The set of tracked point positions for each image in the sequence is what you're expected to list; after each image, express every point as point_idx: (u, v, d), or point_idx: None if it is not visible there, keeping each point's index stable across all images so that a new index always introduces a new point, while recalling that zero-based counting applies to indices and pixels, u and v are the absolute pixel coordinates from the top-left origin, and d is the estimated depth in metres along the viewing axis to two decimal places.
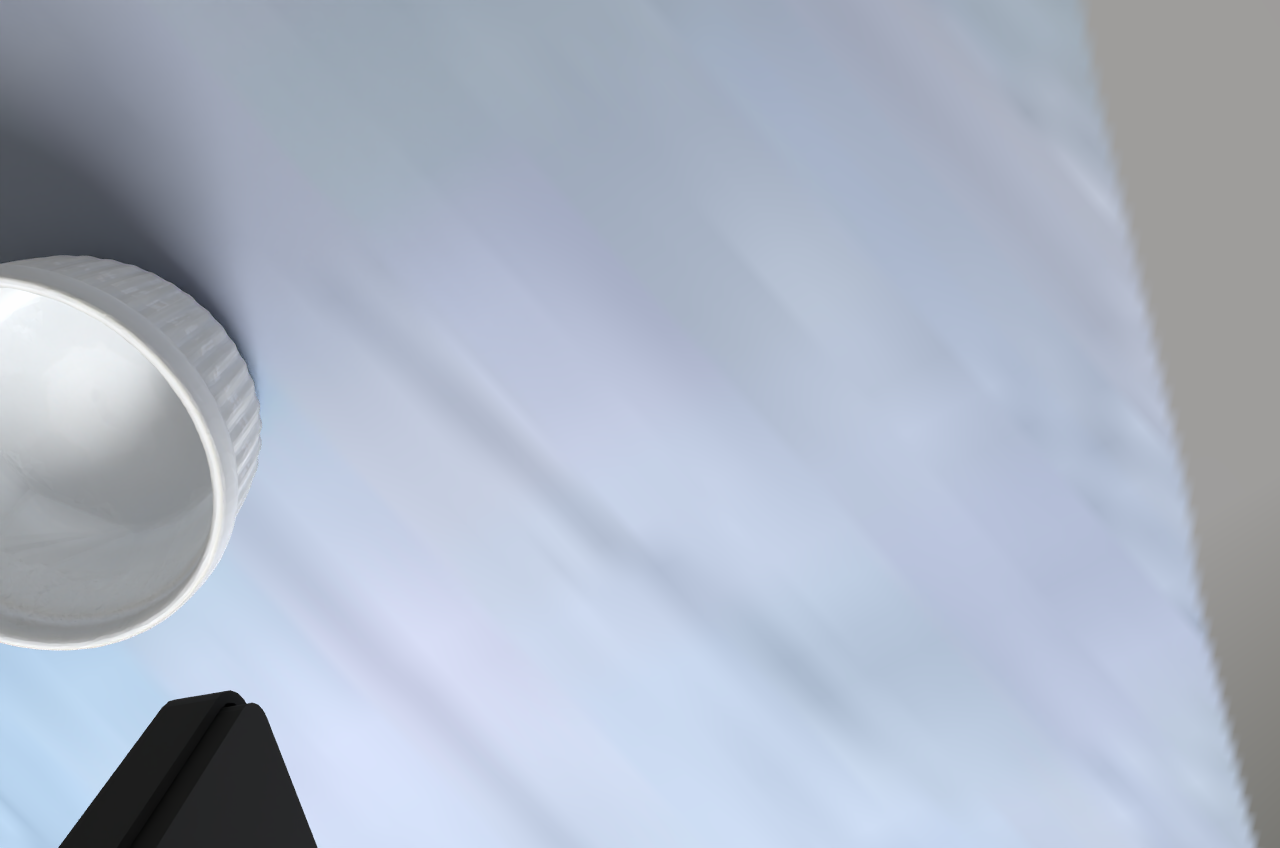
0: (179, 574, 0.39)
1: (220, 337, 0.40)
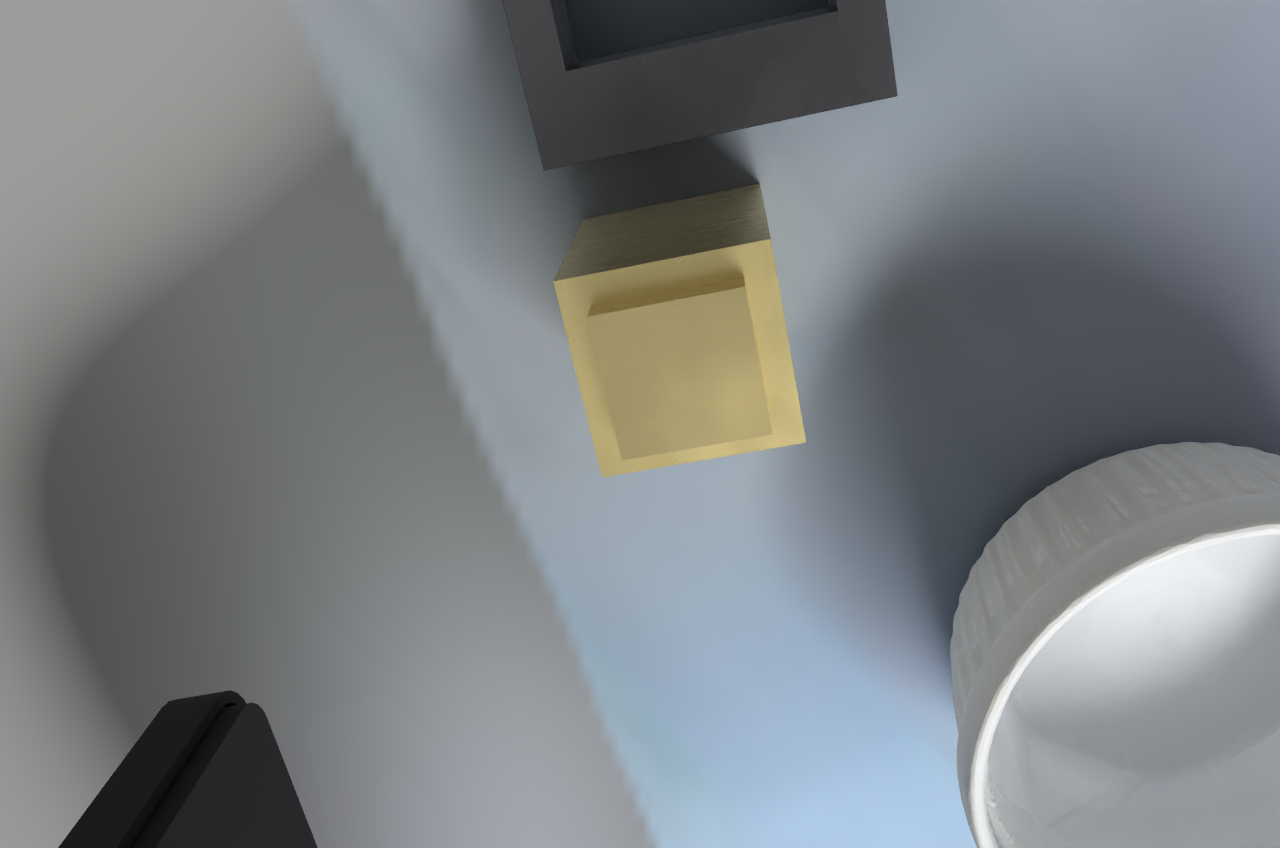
0: None
1: None
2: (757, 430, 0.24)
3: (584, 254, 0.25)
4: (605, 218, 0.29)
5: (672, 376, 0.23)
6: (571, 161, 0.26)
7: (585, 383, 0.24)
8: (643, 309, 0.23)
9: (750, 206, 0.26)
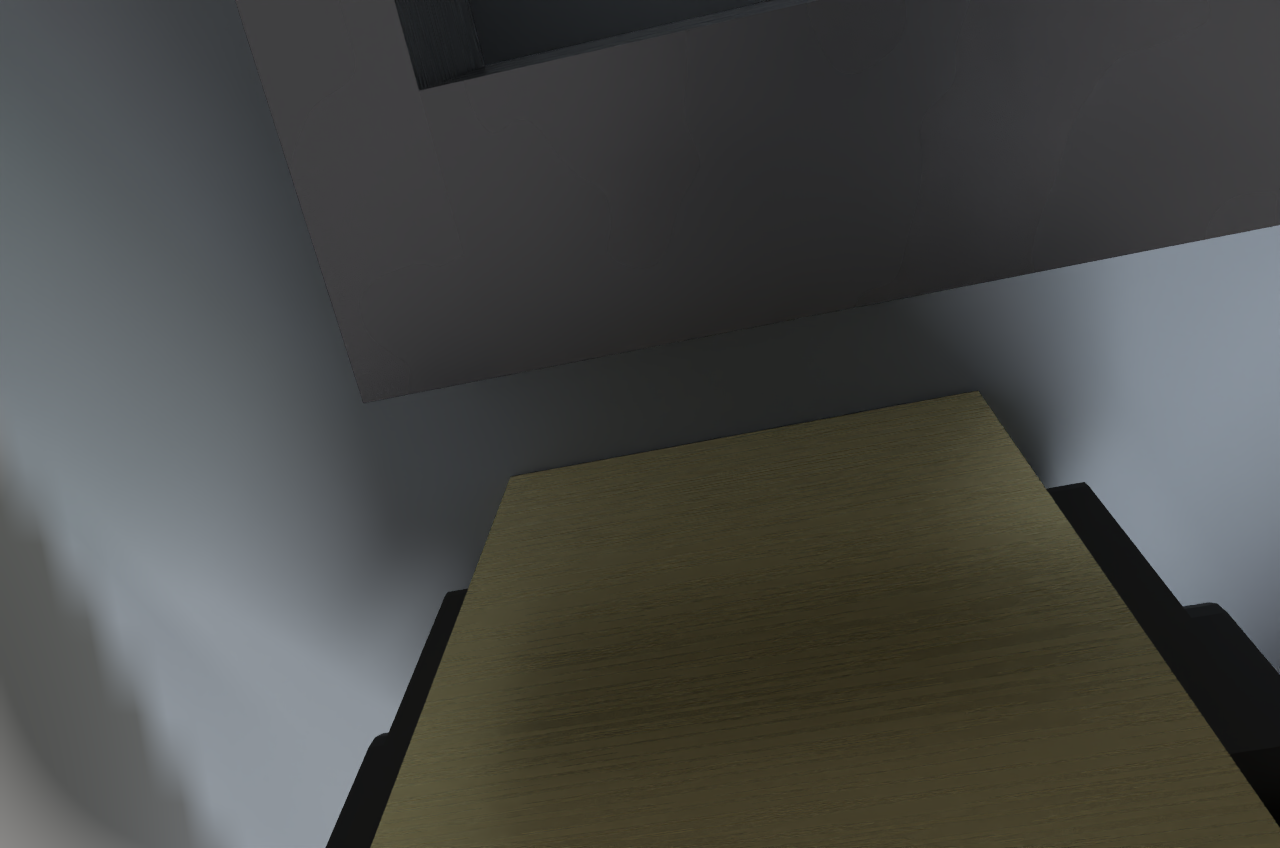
0: None
1: None
2: None
3: (482, 720, 0.07)
4: (565, 486, 0.11)
5: None
6: (450, 375, 0.08)
7: None
8: None
9: (1012, 511, 0.08)
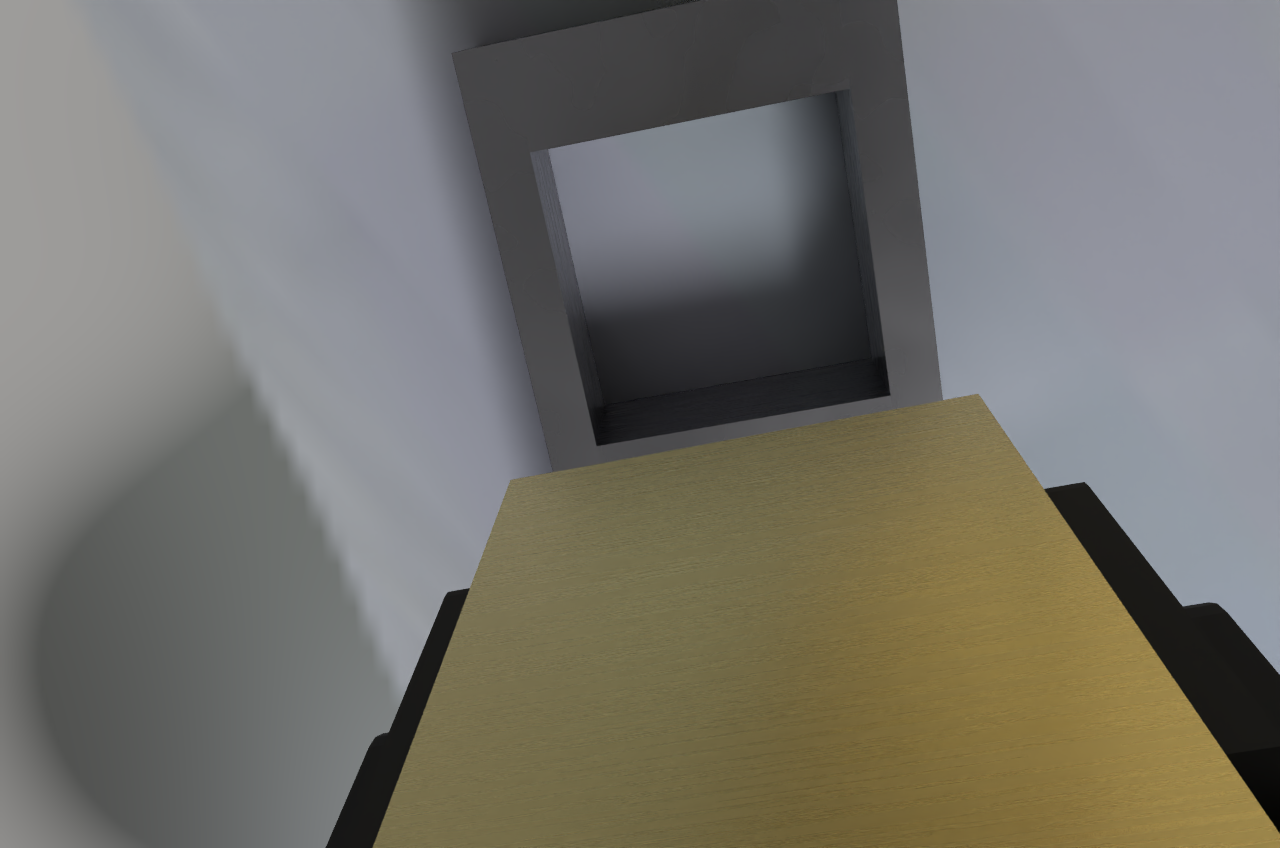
0: None
1: None
2: None
3: (481, 725, 0.07)
4: (565, 489, 0.11)
5: None
6: None
7: None
8: None
9: (1013, 515, 0.08)
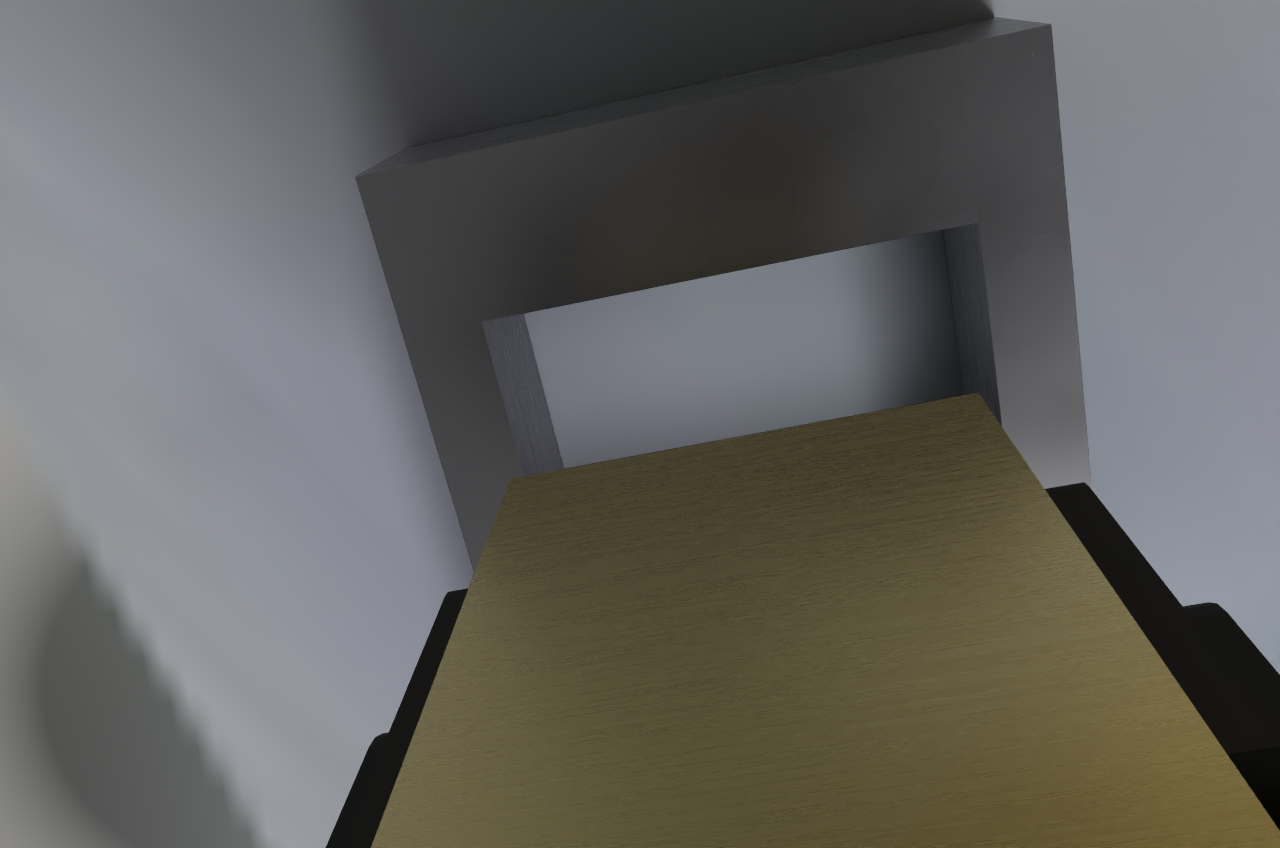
0: None
1: None
2: None
3: (481, 724, 0.07)
4: (564, 488, 0.11)
5: None
6: None
7: None
8: None
9: (1013, 513, 0.08)
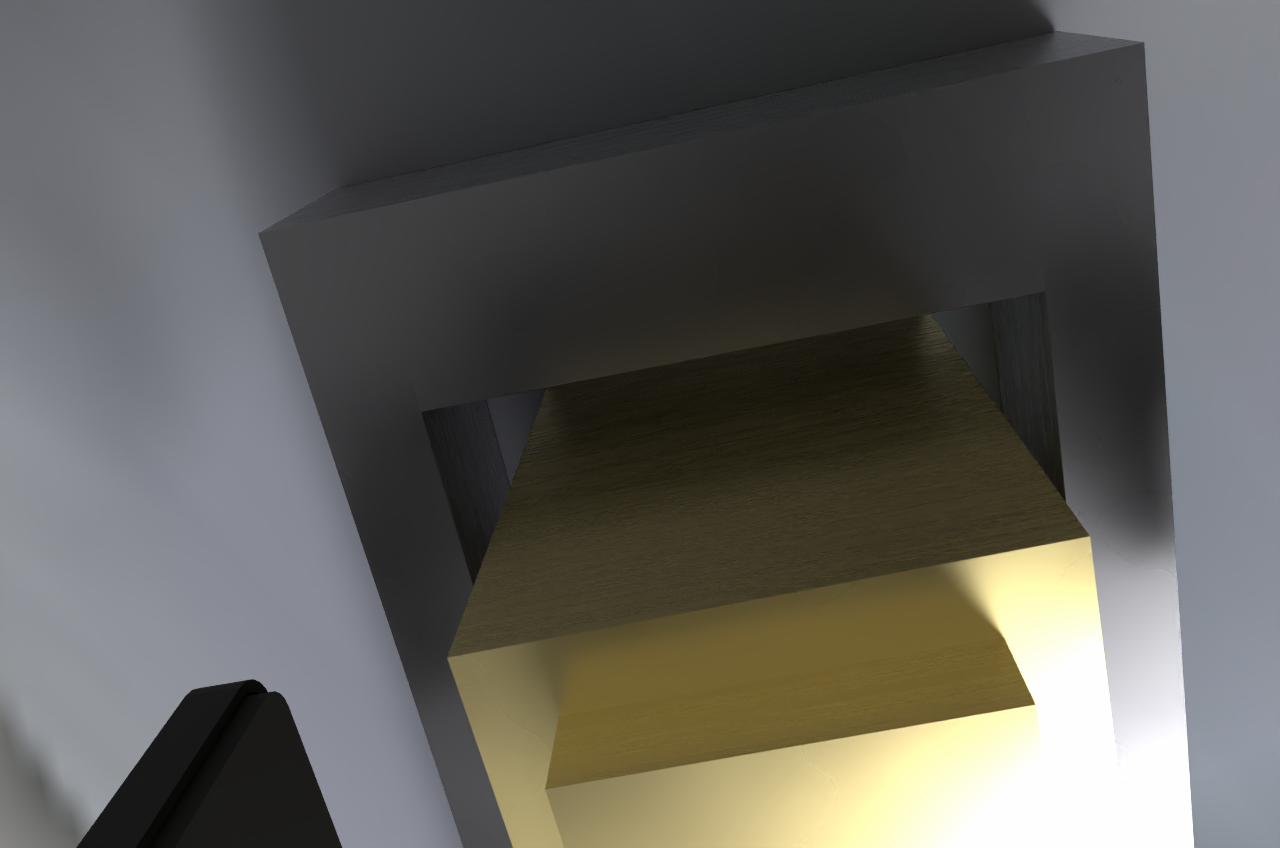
0: None
1: None
2: None
3: (541, 527, 0.10)
4: (592, 387, 0.13)
5: None
6: None
7: None
8: (715, 767, 0.07)
9: (938, 377, 0.11)
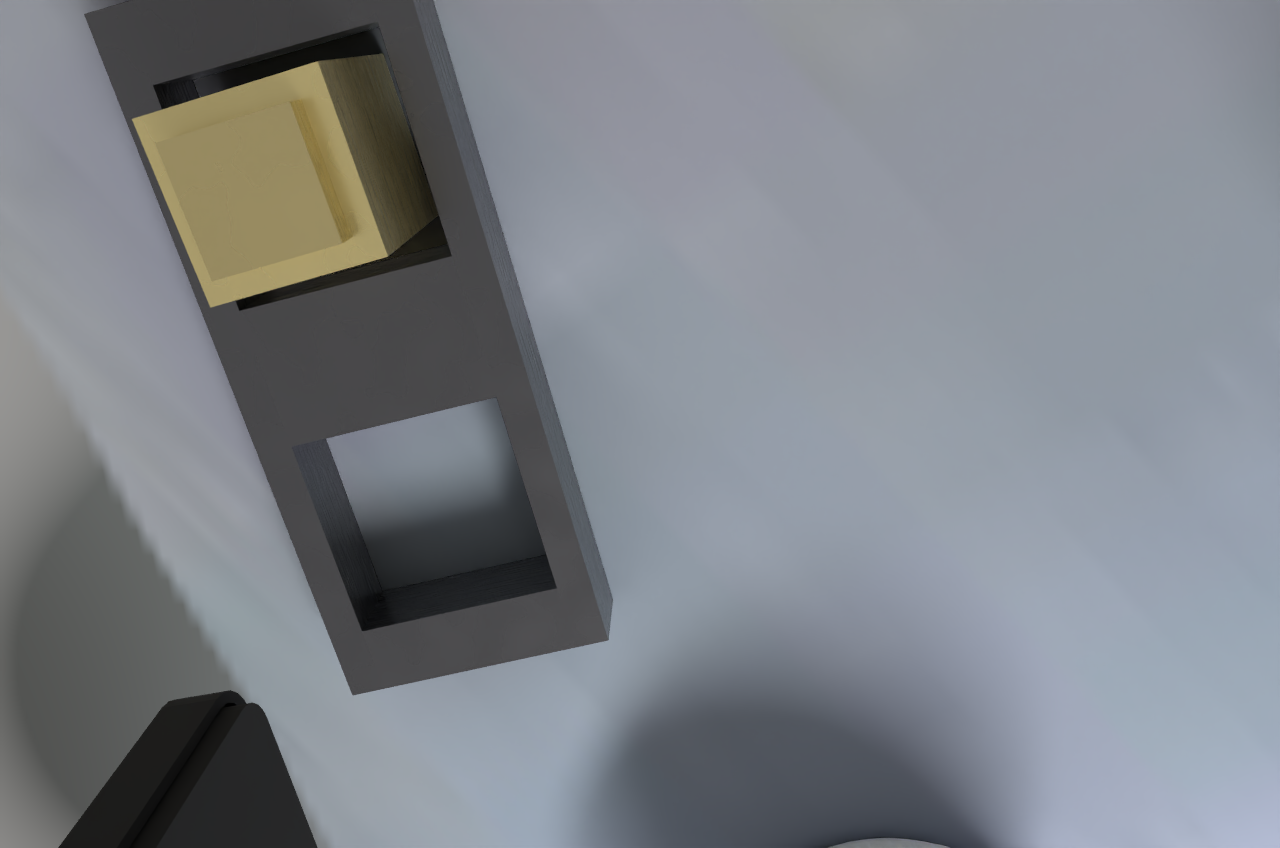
0: None
1: None
2: (328, 240, 0.26)
3: None
4: None
5: (241, 194, 0.26)
6: (372, 688, 0.35)
7: (178, 216, 0.27)
8: (203, 131, 0.25)
9: None
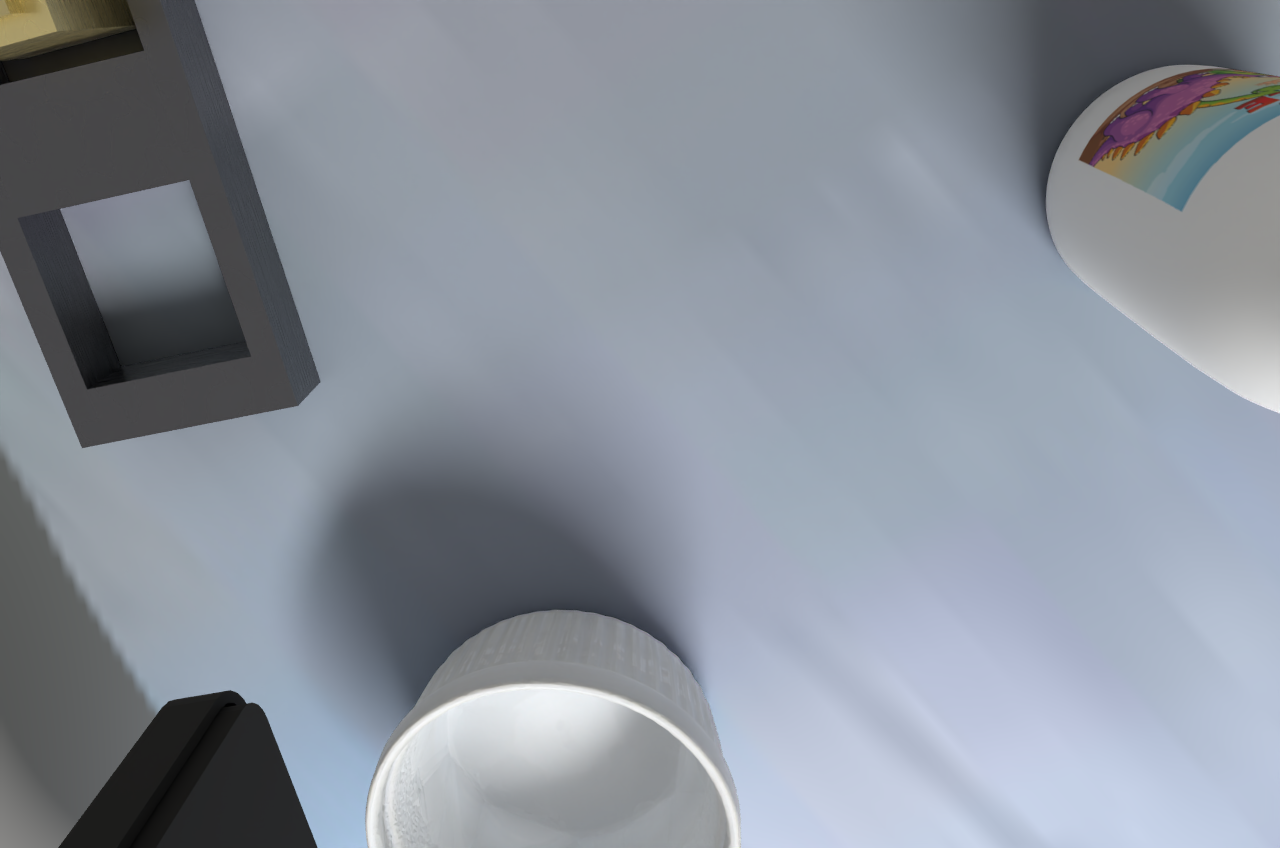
0: None
1: (695, 685, 0.43)
2: None
3: None
4: None
5: None
6: (99, 442, 0.40)
7: None
8: None
9: None
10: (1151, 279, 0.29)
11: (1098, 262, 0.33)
